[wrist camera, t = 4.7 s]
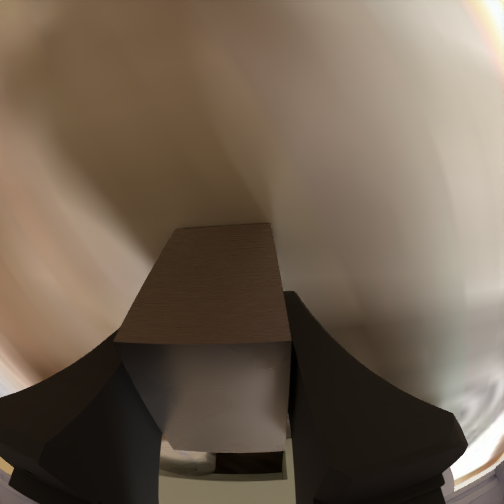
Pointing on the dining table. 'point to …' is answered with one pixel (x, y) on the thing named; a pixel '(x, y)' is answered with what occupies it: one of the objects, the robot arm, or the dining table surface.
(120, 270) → the dining table surface
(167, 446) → the token
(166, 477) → the pale green rectangular block
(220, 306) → the dark grey long block
